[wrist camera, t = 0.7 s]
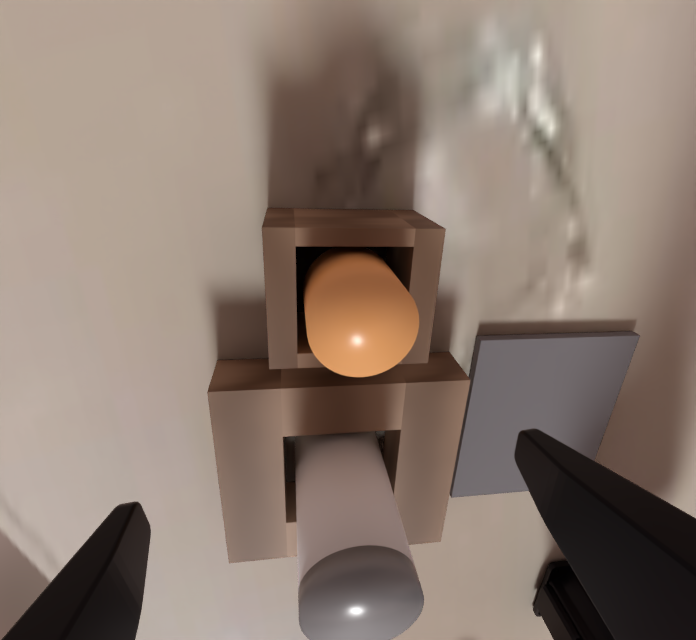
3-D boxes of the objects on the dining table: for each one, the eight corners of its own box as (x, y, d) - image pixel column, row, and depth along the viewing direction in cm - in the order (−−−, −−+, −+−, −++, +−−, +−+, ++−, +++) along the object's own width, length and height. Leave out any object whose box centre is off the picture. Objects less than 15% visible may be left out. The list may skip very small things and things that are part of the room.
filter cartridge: (377, 405, 24) (431, 563, 15) (372, 468, 26) (417, 640, 17) (293, 409, 24) (297, 577, 15) (295, 474, 26) (299, 656, 17)
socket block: (471, 211, 20) (517, 229, 16) (425, 502, 28) (449, 564, 24) (200, 207, 18) (175, 226, 14) (235, 519, 27) (225, 588, 22)
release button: (396, 245, 17) (425, 273, 14) (389, 329, 19) (413, 375, 15) (302, 244, 17) (306, 274, 13) (303, 331, 18) (307, 379, 15)
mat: (632, 331, 25) (640, 335, 24) (579, 479, 30) (585, 485, 29) (476, 335, 23) (481, 340, 23) (448, 490, 28) (451, 497, 28)
